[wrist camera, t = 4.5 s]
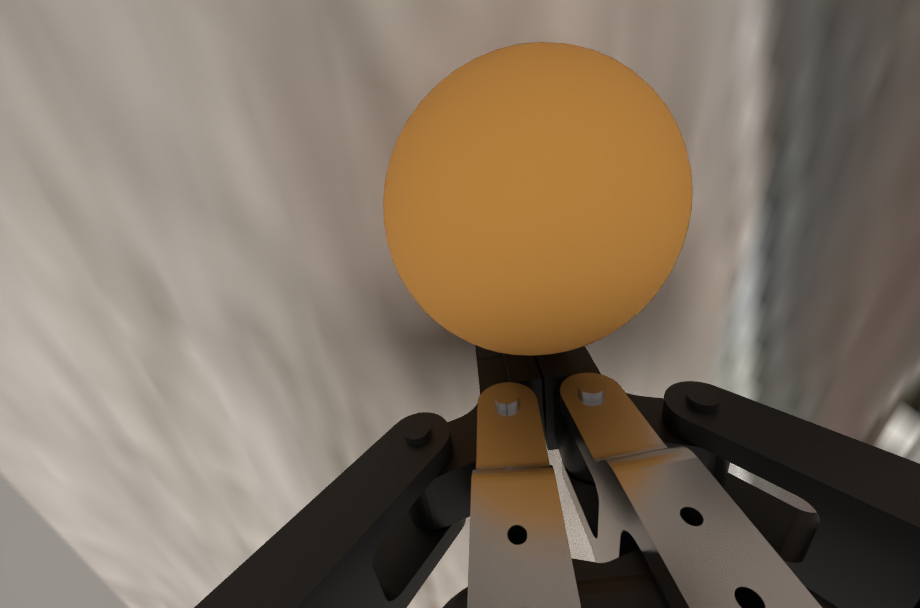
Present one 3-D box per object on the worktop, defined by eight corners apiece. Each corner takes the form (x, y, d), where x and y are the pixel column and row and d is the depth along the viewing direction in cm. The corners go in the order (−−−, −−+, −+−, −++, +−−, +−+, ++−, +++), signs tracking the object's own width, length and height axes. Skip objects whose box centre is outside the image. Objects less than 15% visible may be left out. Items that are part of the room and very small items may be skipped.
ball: (381, 89, 10) (285, 38, 4) (618, 50, 9) (849, -60, 4) (424, 300, 12) (399, 441, 7) (611, 275, 12) (744, 400, 6)
